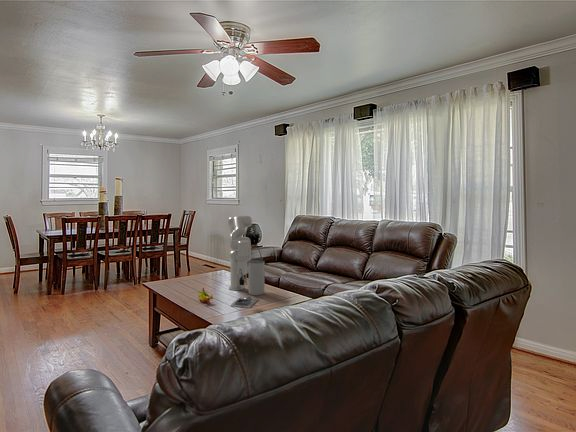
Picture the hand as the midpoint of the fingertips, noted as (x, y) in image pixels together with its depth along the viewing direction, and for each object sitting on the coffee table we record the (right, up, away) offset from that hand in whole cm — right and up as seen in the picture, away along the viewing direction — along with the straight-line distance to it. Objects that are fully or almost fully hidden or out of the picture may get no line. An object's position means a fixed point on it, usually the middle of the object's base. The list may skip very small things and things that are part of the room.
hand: (243, 283), depth 262 cm
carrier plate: (+1, -15, +5) cm, 15 cm away
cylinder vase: (+7, -13, +30) cm, 33 cm away
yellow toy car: (-29, -14, +8) cm, 34 cm away
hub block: (0, -1, 0) cm, 1 cm away
